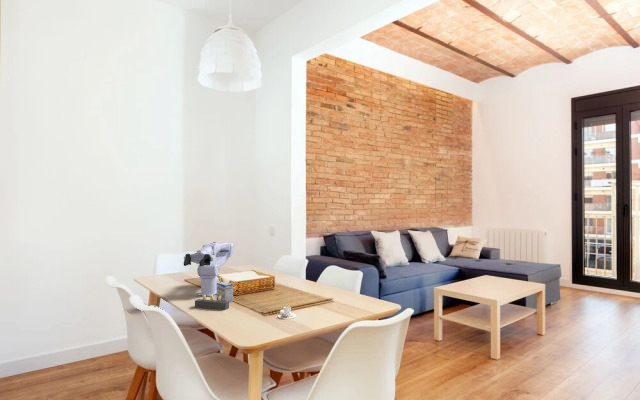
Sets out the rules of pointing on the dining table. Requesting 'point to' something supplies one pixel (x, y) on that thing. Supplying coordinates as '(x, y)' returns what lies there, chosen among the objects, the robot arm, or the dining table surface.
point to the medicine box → (225, 291)
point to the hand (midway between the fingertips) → (192, 264)
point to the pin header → (212, 303)
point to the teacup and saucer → (286, 312)
